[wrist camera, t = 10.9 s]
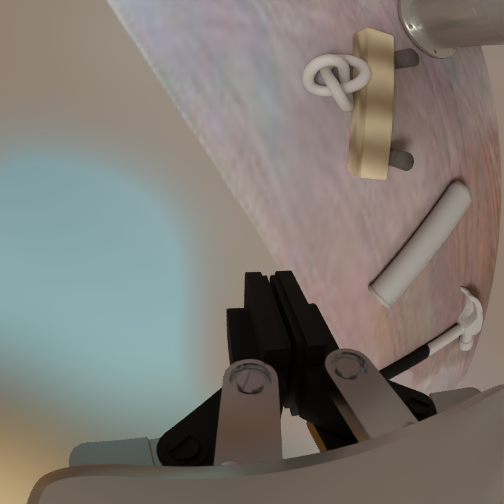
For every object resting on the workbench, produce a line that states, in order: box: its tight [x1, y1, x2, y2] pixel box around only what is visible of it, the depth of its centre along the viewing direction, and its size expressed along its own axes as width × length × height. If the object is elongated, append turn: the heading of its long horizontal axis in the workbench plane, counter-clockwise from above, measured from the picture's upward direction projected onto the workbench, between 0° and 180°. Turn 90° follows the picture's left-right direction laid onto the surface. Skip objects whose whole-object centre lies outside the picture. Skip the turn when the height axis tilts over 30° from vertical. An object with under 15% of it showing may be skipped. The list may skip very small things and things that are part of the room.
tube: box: [368, 181, 471, 310], centre depth 41 cm, size 5×5×25 cm
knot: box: [302, 54, 372, 112], centre depth 29 cm, size 8×8×6 cm
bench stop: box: [347, 28, 419, 180], centre depth 30 cm, size 20×7×6 cm, turn 178°
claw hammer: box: [379, 286, 483, 380], centre depth 55 cm, size 6×22×30 cm
